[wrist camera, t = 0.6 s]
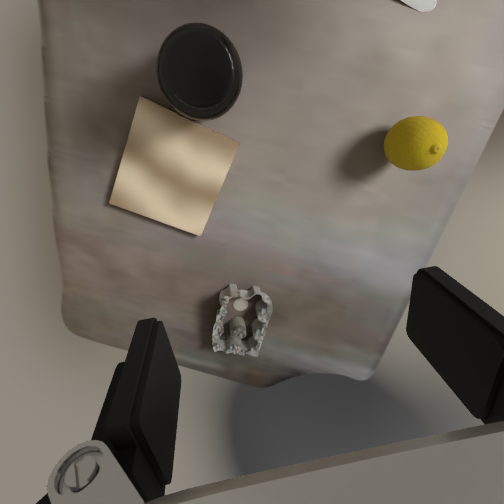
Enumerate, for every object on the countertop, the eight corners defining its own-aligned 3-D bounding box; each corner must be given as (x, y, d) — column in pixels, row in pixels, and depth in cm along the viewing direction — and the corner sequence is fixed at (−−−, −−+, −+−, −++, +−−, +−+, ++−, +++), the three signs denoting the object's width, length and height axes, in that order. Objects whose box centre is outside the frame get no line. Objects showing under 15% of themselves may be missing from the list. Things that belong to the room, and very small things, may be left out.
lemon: (424, 132, 37) (476, 139, 30) (393, 171, 39) (435, 187, 32) (394, 104, 35) (441, 105, 28) (362, 147, 37) (399, 158, 30)
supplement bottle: (166, 110, 32) (145, 115, 22) (168, 33, 30) (147, -4, 19) (230, 121, 34) (240, 130, 23) (239, 48, 31) (255, 21, 20)
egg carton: (221, 279, 43) (222, 295, 39) (272, 286, 44) (278, 302, 41) (207, 338, 47) (207, 358, 43) (254, 342, 49) (258, 362, 45)
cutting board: (141, 96, 32) (139, 96, 31) (238, 142, 35) (239, 143, 34) (111, 200, 36) (109, 203, 35) (200, 233, 39) (200, 236, 38)
